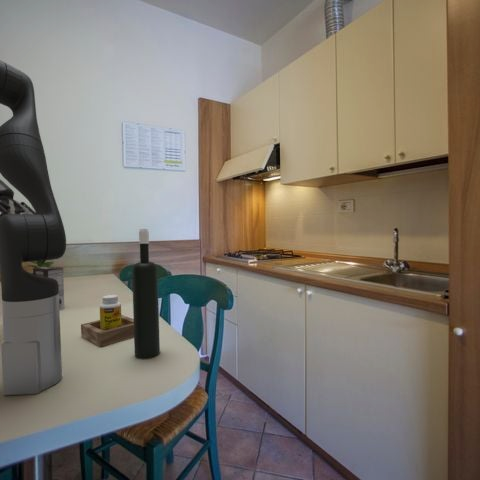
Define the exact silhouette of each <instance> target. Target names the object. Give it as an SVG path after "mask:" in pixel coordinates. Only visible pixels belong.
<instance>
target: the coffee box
mask: <svg viewBox="0 0 480 480" xmlns="http://www.w3.org/2000/svg"><path fill="white" fill-rule="evenodd" d="M32 270H33V271H32V273H33V274H34V275H37V276H42V277H48V278H53V279H55V280H57V282H58V286H59V311H61V310H65V283H64V267H59V266H52V265H51V266H48V267H40V266H37V268H34V267H32Z"/></svg>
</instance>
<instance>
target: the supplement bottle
mask: <svg viewBox="0 0 480 480" xmlns="http://www.w3.org/2000/svg"><path fill="white" fill-rule="evenodd" d="M121 315H122V304H121V302H120V301H119V295H117V294H109V295H104V296H102V303H100V304H99V320H100V330H103V331H105V330H109V329H112V328H116V327H120V326H122V325H121Z"/></svg>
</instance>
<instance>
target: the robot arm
mask: <svg viewBox="0 0 480 480" xmlns="http://www.w3.org/2000/svg"><path fill="white" fill-rule="evenodd" d="M34 87H35V86H34V84H33V81H32V79H31V78H30V76H29V75H28V74H26V73H25V72H23V71H22V70H20V69H18V68H16V67H14V66H12V65H10V64H9V63H7V62H5V61H3V60H2V59H0V105H2V106H5V107H7V108H8V109H10V110H11V112H12V116H11V117H10V119H7V121H5V122H4V123H2V124H1V125H0V174H1V176H2V177H3V178H4V179H5V180H6V182H8V183H9V185H11V186H12V187H13V188H14V189H16V190H17V191H18V192H19V193H20V194H21V195H22V196H23V197H24V198H25V199H26V200H27V201H28V202H29V203H30V205H31V206H32V208H31V207H30V206H29V205H28V204H27V203H26V202H24V201H21V202H19V201H18V200H15V199H14V196H15V192H14V190H13V189H12V188H10V186H9V185H7V184H6V183H5V182H4V181H3V180H2V179H1V178H0V285H1V286H0V287H1V290H0V291H1V309H2V331H3V343H2V344H1V347H0V350H1V372H2V373H1V374H2V390H3V391H2V395H3V396H15V395H16V396H17V395H19V396H20V395H37V394H39V393H40V392H41V391H44V390H46V389H48V388H51V387H52V386H54V385H55V384H57V383H59V382H60V381H61V379H62V378H63V364H62V363H63V361H62V358H63V357H62V340H61V317H60V316H61V315H60V311H61V310H59V286H58V282H57V280H55V279H53V278H48V277H42V276H37V275H34V274H31V273H32V272H29V271H27V270H26V269H24V266H23V263H27V262H29V263H32V262H31V261H34V262H36V261H44V260H46V261H54V260H58V259H60V258H63V256H64V255H65V252H66V250H67V249H66V248H67V235H66V230H65V226H64V223H63V220H62V219H63V218H62V216H61V214H60V210H59V207H58V204H57V201H56V198H55V194H54V192H53V188H52V184H51V180H50V175H49V169H48V165H47V159H46V158H47V157H46V153H45V149H44V144H43V141H42V137H41V133H40V128H39V123H38V118H37V117H38V116H37V107H36V98H35V88H34Z"/></svg>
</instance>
